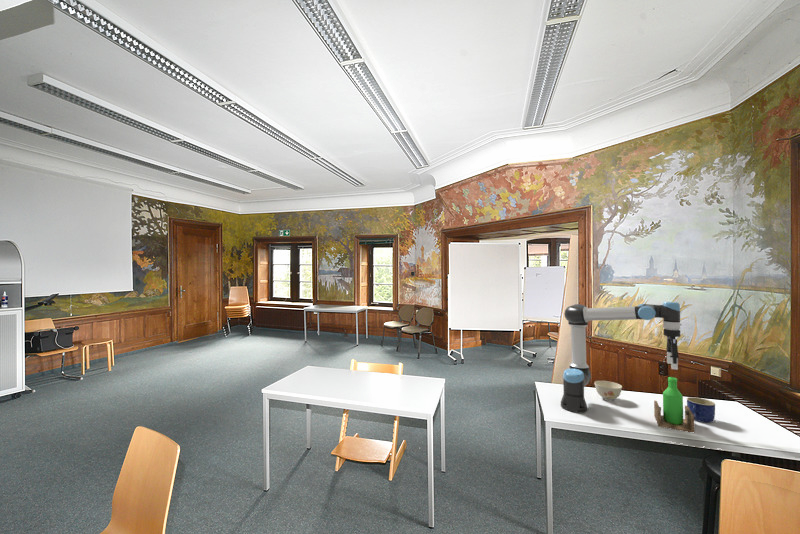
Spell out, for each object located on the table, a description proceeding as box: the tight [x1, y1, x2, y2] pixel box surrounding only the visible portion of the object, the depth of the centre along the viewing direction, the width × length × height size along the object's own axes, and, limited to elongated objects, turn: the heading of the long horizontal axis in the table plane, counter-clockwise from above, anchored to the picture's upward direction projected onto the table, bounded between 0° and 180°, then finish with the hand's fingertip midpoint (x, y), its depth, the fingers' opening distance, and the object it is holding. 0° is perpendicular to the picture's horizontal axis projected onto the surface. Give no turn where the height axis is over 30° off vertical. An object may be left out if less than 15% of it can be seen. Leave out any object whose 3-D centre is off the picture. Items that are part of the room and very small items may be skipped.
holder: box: [653, 400, 695, 433], centre depth 189 cm, size 15×16×9 cm
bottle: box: [662, 376, 684, 425], centre depth 189 cm, size 9×9×25 cm
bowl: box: [594, 380, 623, 402], centre depth 226 cm, size 16×16×10 cm
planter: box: [686, 396, 716, 424], centre depth 195 cm, size 12×12×11 cm
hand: (672, 366), depth 189 cm, fingers open, 13 cm apart
